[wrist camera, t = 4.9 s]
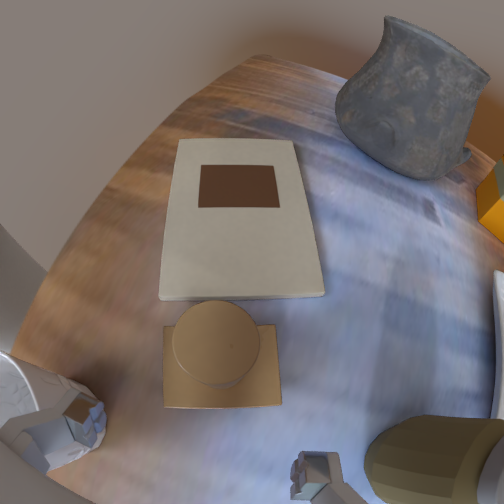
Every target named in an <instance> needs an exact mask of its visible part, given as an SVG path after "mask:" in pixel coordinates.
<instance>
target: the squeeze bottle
mask: <svg viewBox="0 0 504 504" xmlns="http://www.w3.org/2000/svg"><path fill="white" fill-rule="evenodd" d="M364 470H365V473H366V476H367V479H368V481H369V483H370V485H371V487H372V489H373V491H374V493H375V495H376V496H378V497H379V498H380V499H382V500H383V501H384V502H385V503H388V504H504V420H503V419H483V418H459V417H445V416H434V415H421V416H416V417H412V418H409V419H407V420H405V421H403V422H401V423H400V424H398V425H396V426H394V427H392V428H389V429H388V430H386V431H385V432H383V433H381V434H380V435H379V436H378V437H377V438H376V439H375V440H374V441H373V442H372V443H371V445H370V447H369V449H368V451H367V453H366V455H365V460H364Z"/></svg>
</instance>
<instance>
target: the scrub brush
mask: <svg viewBox="0 0 504 504" xmlns="http://www.w3.org/2000/svg"><path fill="white" fill-rule="evenodd" d="M163 403H164V407H165V408H185V409H231V408H252V407H266V406H277V405H282V396H281V384H280V372H279V360H278V348H277V337H276V326H275V325H274V324H273V325H256V324H255V322H254V320H253V319H252V318H251V316H250V315H249V314H248V313H247V312H246V311H245V310H243V309H242V308H241V307H239V306H237V305H235V304H233V303H230V302H227V301H222V300H209V301H204V302H201V303H198V304H196V305H194V306H192V307H191V308H189V309H188V310H187V311H185V312H184V314H183V315H182V316H181V317H180V318H179V320H178V321H177V323H176V325H175V326H164V329H163Z"/></svg>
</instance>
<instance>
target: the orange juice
mask: <svg viewBox="0 0 504 504" xmlns="http://www.w3.org/2000/svg"><path fill="white" fill-rule="evenodd" d="M476 196H477V209H478V222H480V223H481V224H482V225H483V226H484V227H486V228H487V229H488V230H489V231H490V232H491V233H492V234H494V235H495V236H496V237H497V238H498V239H499V240H500V241H501V242H502V243H503V244H504V155H503V156H502V158H501V159H500V160H499V161H498V162H497V164H496V165H495V166H494V167H493V169H492V170H491V172H490V173H489V174H488V175H487V177H486V178H485V179H484V180H483V182H482V183H481V184H480V185H479V186H478V188H477V189H476Z"/></svg>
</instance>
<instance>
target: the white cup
mask: <svg viewBox="0 0 504 504" xmlns="http://www.w3.org/2000/svg"><path fill="white" fill-rule="evenodd" d="M72 387H74V388H76V389H78V390H80V391H82V392H83V393H85V394H87V395H89V396H92V397H94V398H96V397H95V395H94V394H93V393H92V392H91V391H90V390H89V389H88V388H87V387H86V386H84V385H82V384H80V383H78V382H76V381H74V380H72V379H68V378H66V377H64V376H62V375H59V374H56V373H54V372H51V371H49V370H46V369H44V368H41V367H38V366H36V365H33V364H30V363H28V362H25V361H23V360H20V359H18V358H16V357H13V356H11V355H9V354H7V353H5V352H2V351H0V428H1V427H2V426H3V425H4V424H5V423H6V422H7V421H8V420H9V418H13V417H17V416H21V415H25V414H29V413H33V412H36V411H40V410H43V409H47V408H51V409H53V408H54V406H55V405H56V404H57V403H58V402H59V401H60V399H61V398H62V397H63V396H64V395H65V394H66V392H67V391H68V390H69V389H70V388H72ZM96 399H97V398H96ZM105 433H106V431H105V427H104V429H103V431H102V432H100V433H97V437H98V439H97V441H96V442H95V444H94V445H93V447H92V449H91V448H89V447H87V446H85V445H83V444H81V443H79V442H77V441H75V442H73V443H71V444H69V445H67V446H65V447H63V448H60V449H58V450H56V451H54V452H52V453H49V454H47V455H45V458H46V459H47V461H48V462H49V464H50V468H49V470H48V471H50V470H53V469H56V468H58V467H61V466H63V465H65V464H67V463H70V462H72V461H74V460H76V459H78V458H81V457H82V456H83V455H85V454H87V453H89V452H91V451H92V450H94V449H96V448H97V447H99V446H100V444H101V442H102V440H103V437H104V435H105Z"/></svg>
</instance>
